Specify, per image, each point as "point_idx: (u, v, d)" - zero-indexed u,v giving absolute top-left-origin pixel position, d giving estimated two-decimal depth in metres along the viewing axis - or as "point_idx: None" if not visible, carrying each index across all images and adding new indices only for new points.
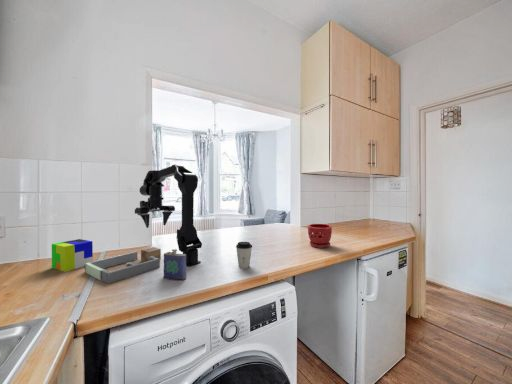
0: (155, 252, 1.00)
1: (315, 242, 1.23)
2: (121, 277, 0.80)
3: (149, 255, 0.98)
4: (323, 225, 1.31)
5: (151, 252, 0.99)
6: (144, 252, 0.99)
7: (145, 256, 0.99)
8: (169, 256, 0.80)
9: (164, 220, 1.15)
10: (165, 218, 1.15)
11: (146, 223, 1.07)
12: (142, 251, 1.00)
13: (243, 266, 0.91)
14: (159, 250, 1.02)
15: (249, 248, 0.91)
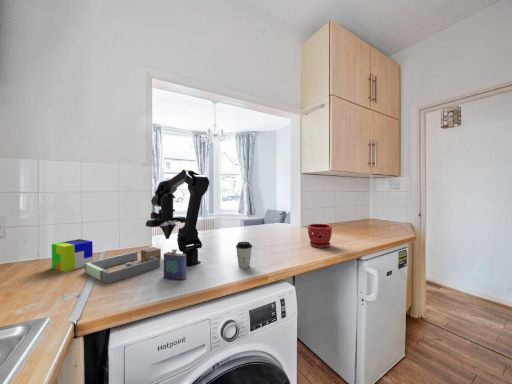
0: (155, 252, 1.00)
1: (315, 242, 1.23)
2: (121, 277, 0.80)
3: (149, 255, 0.98)
4: (323, 225, 1.31)
5: (151, 252, 0.99)
6: (144, 252, 0.99)
7: (145, 256, 0.99)
8: (169, 256, 0.80)
9: None
10: None
11: (166, 234, 1.07)
12: (142, 251, 1.00)
13: (243, 266, 0.91)
14: (159, 250, 1.02)
15: (249, 248, 0.91)
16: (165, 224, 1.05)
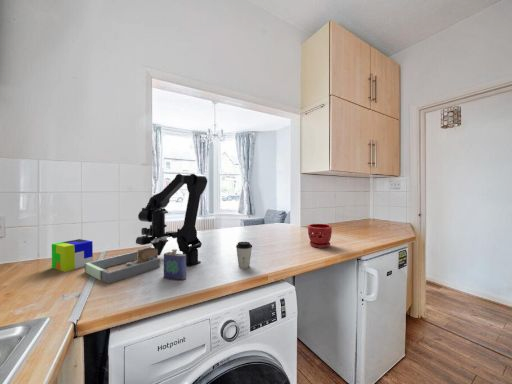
0: (152, 252, 0.99)
1: (315, 242, 1.23)
2: (121, 277, 0.80)
3: (146, 255, 0.97)
4: (323, 225, 1.31)
5: (148, 252, 0.98)
6: (141, 252, 0.98)
7: (142, 256, 0.98)
8: (169, 256, 0.80)
9: None
10: (160, 248, 1.05)
11: None
12: (139, 251, 0.99)
13: (243, 266, 0.91)
14: (156, 250, 1.01)
15: (249, 248, 0.91)
16: (156, 240, 1.02)
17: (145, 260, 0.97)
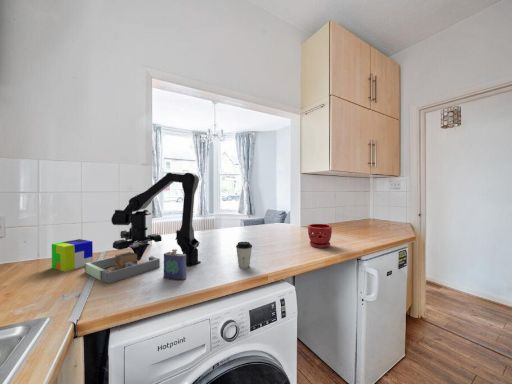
0: (130, 258, 0.91)
1: (315, 242, 1.23)
2: (121, 277, 0.80)
3: (123, 261, 0.89)
4: (323, 225, 1.31)
5: (125, 258, 0.90)
6: (118, 258, 0.90)
7: (119, 262, 0.90)
8: (169, 256, 0.80)
9: None
10: (140, 252, 0.97)
11: (137, 256, 0.96)
12: (116, 257, 0.91)
13: (243, 266, 0.91)
14: (135, 255, 0.93)
15: (249, 248, 0.91)
16: (135, 245, 0.94)
17: (122, 266, 0.89)
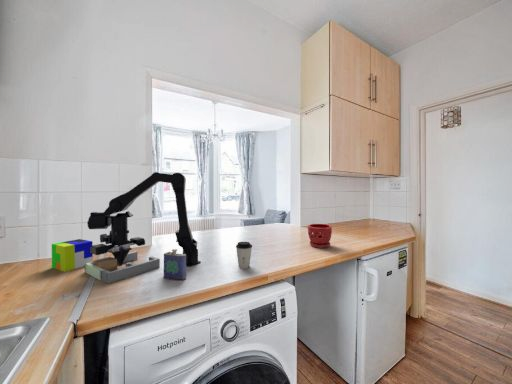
0: (109, 263, 0.85)
1: (315, 242, 1.23)
2: (121, 277, 0.80)
3: (101, 267, 0.82)
4: (323, 225, 1.31)
5: (104, 263, 0.83)
6: (96, 263, 0.84)
7: None
8: (169, 256, 0.80)
9: None
10: (121, 257, 0.90)
11: (117, 261, 0.89)
12: (94, 262, 0.85)
13: (243, 266, 0.91)
14: (115, 261, 0.86)
15: (249, 248, 0.91)
16: (115, 249, 0.87)
17: None
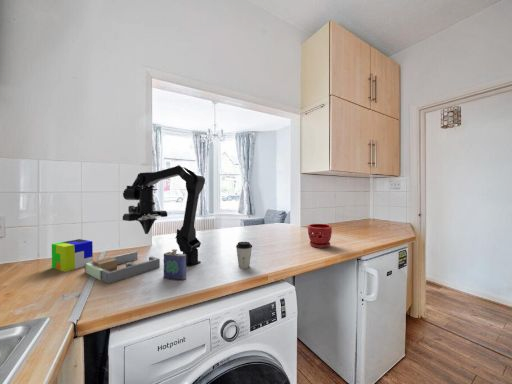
0: (109, 264, 0.85)
1: (315, 242, 1.23)
2: (121, 277, 0.80)
3: None
4: (323, 225, 1.31)
5: (104, 264, 0.83)
6: (96, 264, 0.84)
7: None
8: (169, 256, 0.80)
9: None
10: (148, 226, 1.02)
11: (145, 229, 1.01)
12: (94, 262, 0.85)
13: (243, 266, 0.91)
14: (115, 261, 0.86)
15: (249, 248, 0.91)
16: (144, 218, 0.99)
17: None
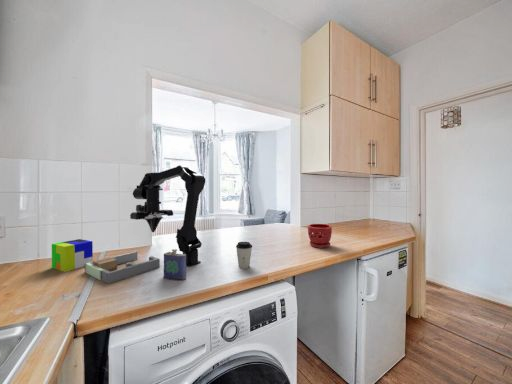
0: (109, 264, 0.85)
1: (315, 242, 1.23)
2: (121, 277, 0.80)
3: None
4: (323, 225, 1.31)
5: (104, 264, 0.83)
6: (96, 264, 0.84)
7: None
8: (169, 256, 0.80)
9: None
10: None
11: (151, 227, 1.04)
12: (94, 262, 0.85)
13: (243, 266, 0.91)
14: (115, 261, 0.86)
15: (249, 248, 0.91)
16: (150, 217, 1.02)
17: None
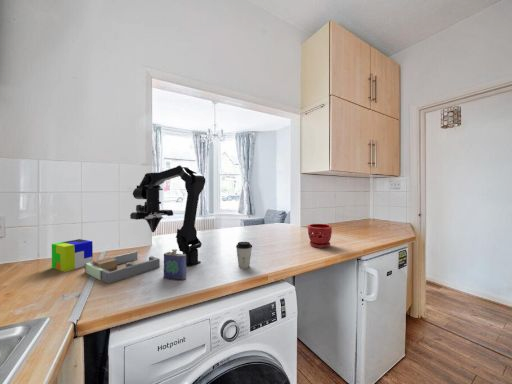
0: (109, 264, 0.85)
1: (315, 242, 1.23)
2: (121, 277, 0.80)
3: None
4: (323, 225, 1.31)
5: (104, 264, 0.83)
6: (96, 264, 0.84)
7: None
8: (169, 256, 0.80)
9: None
10: None
11: (151, 227, 1.04)
12: (94, 262, 0.85)
13: (243, 266, 0.91)
14: (115, 261, 0.86)
15: (249, 248, 0.91)
16: (150, 217, 1.02)
17: None
